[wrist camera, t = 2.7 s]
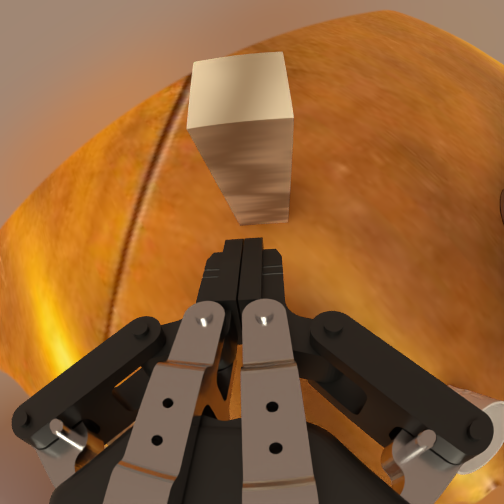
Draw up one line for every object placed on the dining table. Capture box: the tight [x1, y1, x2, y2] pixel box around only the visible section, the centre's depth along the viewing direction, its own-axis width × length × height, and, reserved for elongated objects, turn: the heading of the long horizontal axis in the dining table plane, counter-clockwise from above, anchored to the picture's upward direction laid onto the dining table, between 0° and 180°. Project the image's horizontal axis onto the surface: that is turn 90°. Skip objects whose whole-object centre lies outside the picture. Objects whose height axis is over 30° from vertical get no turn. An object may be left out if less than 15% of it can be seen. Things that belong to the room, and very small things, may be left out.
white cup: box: [447, 385, 504, 474], centre depth 19 cm, size 8×8×10 cm
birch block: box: [187, 52, 294, 225], centre depth 21 cm, size 5×5×18 cm
